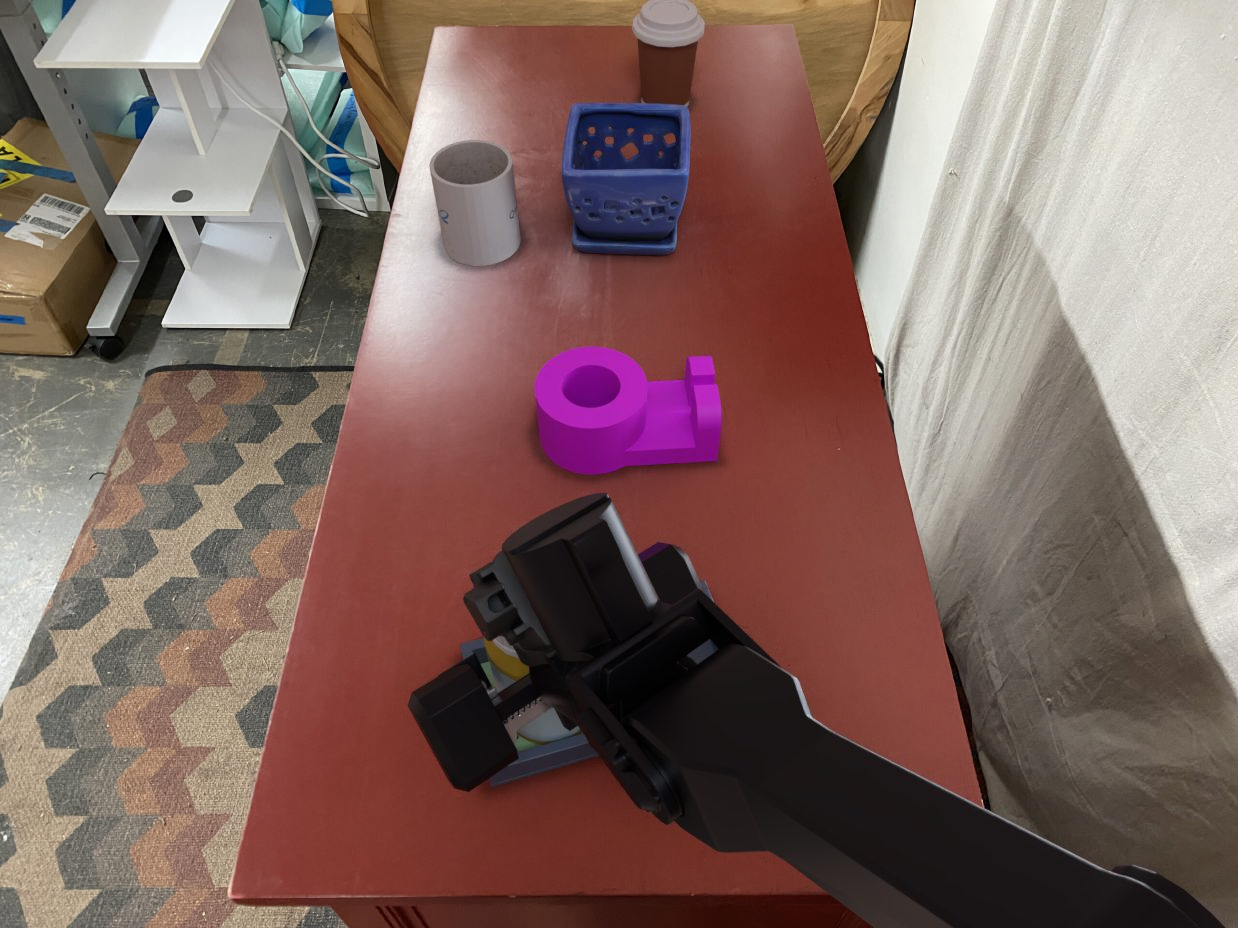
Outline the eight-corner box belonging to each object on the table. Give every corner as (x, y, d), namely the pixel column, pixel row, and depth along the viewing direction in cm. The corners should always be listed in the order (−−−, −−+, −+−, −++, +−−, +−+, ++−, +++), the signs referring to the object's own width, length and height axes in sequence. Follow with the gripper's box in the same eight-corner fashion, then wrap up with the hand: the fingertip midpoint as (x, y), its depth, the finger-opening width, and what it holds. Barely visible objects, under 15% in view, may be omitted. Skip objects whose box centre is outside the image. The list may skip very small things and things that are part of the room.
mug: (514, 267, 100) (505, 189, 92) (436, 264, 100) (421, 185, 93) (529, 200, 108) (522, 122, 100) (457, 197, 108) (445, 119, 100)
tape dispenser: (540, 477, 82) (535, 431, 77) (538, 396, 88) (533, 349, 83) (718, 467, 82) (724, 421, 78) (703, 388, 89) (708, 340, 84)
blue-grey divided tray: (748, 712, 68) (753, 695, 66) (491, 787, 64) (486, 772, 62) (701, 598, 74) (704, 579, 72) (464, 661, 70) (459, 643, 68)
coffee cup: (713, 99, 122) (721, 8, 113) (670, 127, 118) (674, 35, 108) (660, 76, 126) (664, -14, 116) (616, 102, 121) (616, 11, 112)
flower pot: (685, 268, 100) (692, 173, 91) (564, 266, 100) (558, 170, 91) (684, 196, 108) (690, 102, 99) (572, 194, 109) (568, 100, 99)
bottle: (485, 699, 68) (450, 587, 56) (559, 644, 71) (540, 526, 59) (542, 768, 64) (517, 662, 53) (618, 706, 67) (609, 594, 56)
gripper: (697, 469, 50) (588, 467, 64) (389, 649, 43) (343, 603, 57) (774, 643, 52) (652, 604, 66) (492, 841, 45) (424, 750, 60)
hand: (525, 635), depth 62 cm, fingers open, 8 cm apart
